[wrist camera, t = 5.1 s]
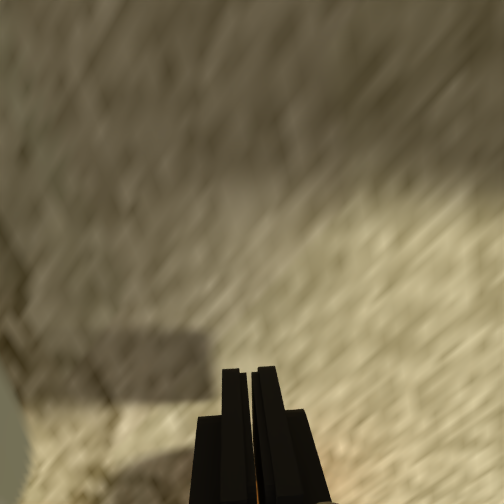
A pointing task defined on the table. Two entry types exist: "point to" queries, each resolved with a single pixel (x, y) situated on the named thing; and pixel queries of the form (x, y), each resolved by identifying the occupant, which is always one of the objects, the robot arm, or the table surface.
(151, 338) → the table surface
